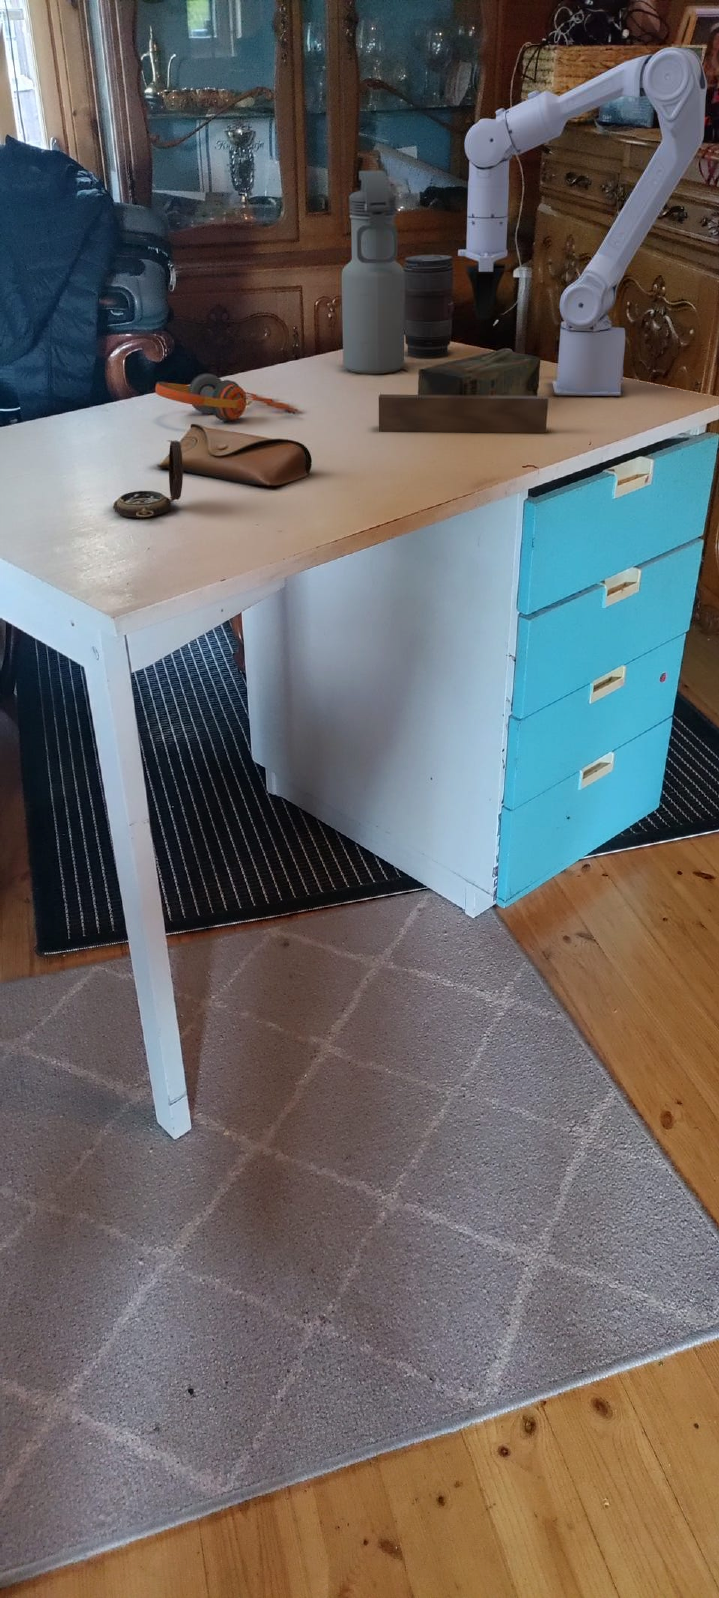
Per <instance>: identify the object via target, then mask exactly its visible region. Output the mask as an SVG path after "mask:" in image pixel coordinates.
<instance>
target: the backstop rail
mask: <svg viewBox="0 0 719 1598" xmlns="http://www.w3.org/2000/svg"><path fill="white" fill-rule="evenodd" d="M548 409H549V396H548V395H537V396H501V395H418V394H395V393H394V394H386V393H385V394H383V393H380V394H379V395H378V432H417V433H418V432H420V433H421V432H423V433H424V432H427V433H428V432H429V433H503V434H504V433H505V434H512V433H513V434H546V433H547V424H548V423H547V422H548Z"/></svg>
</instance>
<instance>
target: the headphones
mask: <svg viewBox="0 0 719 1598" xmlns="http://www.w3.org/2000/svg"><path fill="white" fill-rule="evenodd" d="M155 394H156V395H158V396H159V397H162V398H164V399H167V400H171V401H175V402H179V403H183V404H187V405H191V406H192V407H193V408H194V409H195V410H196V411H197V412H199V413H201V414H204V415H212V414H213V415H214V416H215V418H217V419H218V420H220V421H224V422H230V421H233V420H237V419H239V418H240V417H241V416H242V415H243V414H244V412H245V410H246V407H247V406H249V405H251V403H252V402H253V401H255V402H256V401H257V402H262V403H265V405H266V406H268V407H274V408H277V409H278V408H279V409H283V411H284V412H285V413H288V414H293V415H295V414H296V413H295V412H298V411H299V409H298V408H295V407H290V405H289V404H286V403H283V402H278V401H277V402H276V401H274V399H273V398H266V397H258V396H257V394H256V393H253V392H247V391H245V390H244V389H243V387H241V386H240V385H239V384H238V383H237V382H236V381H233V380H229V379H224V380H222V379H221V378H220V377H218V376H217V375H215V374H213V373H212V374H211V373H201V374H199V375H197V376H196V377H194V378H193V379H192V381H190V384H189V385H188V384H183V383H181V384H180V383H171V382H167V381H157V382H156V384H155ZM247 395H249V396H250V397H247ZM251 398H252V399H251ZM247 400H248V401H247Z"/></svg>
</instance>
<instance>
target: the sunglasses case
mask: <svg viewBox="0 0 719 1598" xmlns="http://www.w3.org/2000/svg"><path fill="white" fill-rule="evenodd" d="M178 442H179V443H180V445H181V451H182V460H183V472H186V473H191V474H196V475H202V476H206V477H210V478H216V479H220V480H224V481H228V482H233V483H239V484H245V485H258V486H259V485H260V486H267V487H270V486H271V487H277V486H283V485H287V484H291V483H293V482H296V481H298V480H301V479H304V478H305V477H308V475H309V474H310V472H311V469H312V462H313V461H312V460H313V459H312V455H311V452H310V450H309V449H308V447H307V446H306V445H304V444H303V443H302V442H299V441H296V440H293V439H288V438H271V437H270V438H269V437H266V436H259V435H255V434H249V433H245V432H239V431H230V430H224V429H218V428H210V427H207V426H203V425H201V424H198V423H191V424H190V429H189V430H188V431H187V432H186V433H185V434H184V436H183V437H181V439H180V440H179V441H178ZM156 467H157V468H163V469H169V453H168V454H167V456H166V457H165V458H164V459H163V461H162V462H160V463H157V464H156Z"/></svg>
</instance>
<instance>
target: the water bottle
mask: <svg viewBox="0 0 719 1598" xmlns="http://www.w3.org/2000/svg"><path fill="white" fill-rule="evenodd" d="M358 181H361V182H360V190H358V191H355V192H353V193H351V194H350V195H349V196H348V202H349V203H348V204H349V205H348V206H349V208H348V209H349V211H348V212H349V218H350V229H351V260H350V261H349V262H348V263H347V264H346V265H344V267H343V268H342V272H341V312H342V313H341V317H342V318H341V319H342V322H341V323H342V363H343V367H344V368H345V369H346V370H347V371H349V372H351V373H355V374H362V375H383V374H384V375H385V374H390V373H394V372H398V371H399V370H401V369H402V368H403V367H404V365H405V332H404V321H405V275H404V267H403V266H402V265H401V264H400V263H399V262H397V261H396V259H397V258H398V254H399V249H398V248H399V233H398V232H399V231H398V229H397V227H396V226H395V218H396V217H397V214H396V213H395V212H396V211H397V209H396V206H397V205H396V202H397V201H396V200H397V196H396V194H395V193H393V192H392V191H390V190H389V180H388V177H387V172H385V171H383V170H380V169H379V170H378V169H377V170H375V169H374V170H371V169H370V170H359V171H358Z"/></svg>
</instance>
